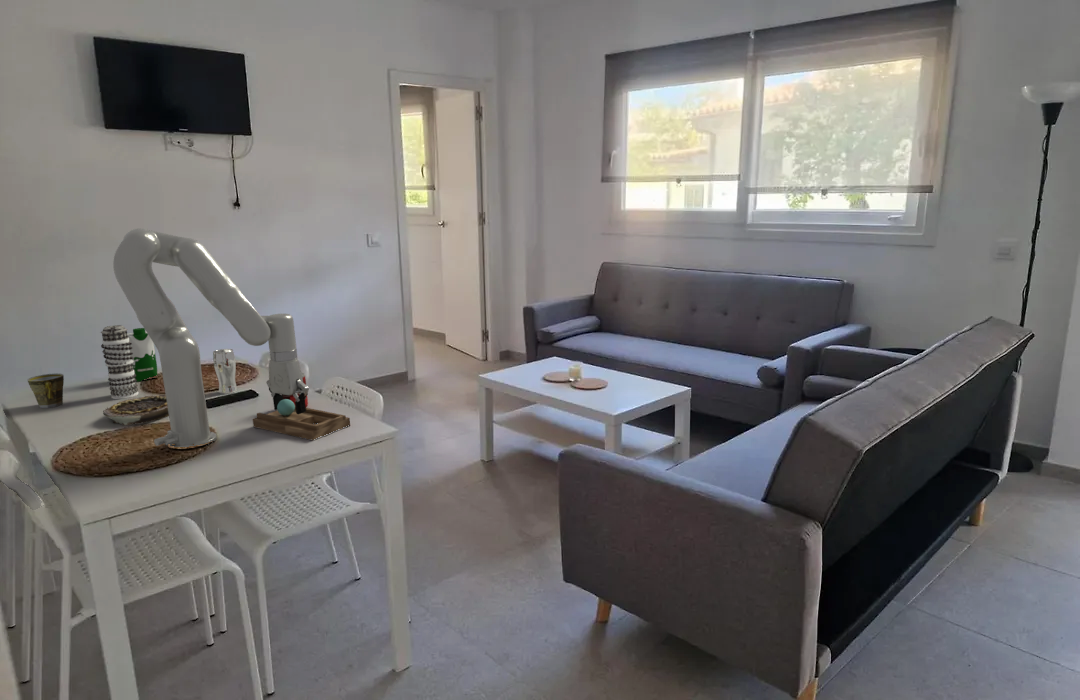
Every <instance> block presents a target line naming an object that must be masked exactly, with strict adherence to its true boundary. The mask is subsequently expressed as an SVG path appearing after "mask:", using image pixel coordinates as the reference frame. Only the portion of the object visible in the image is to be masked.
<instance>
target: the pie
mask: <svg viewBox="0 0 1080 700" xmlns="http://www.w3.org/2000/svg"><path fill="white" fill-rule="evenodd" d="M102 412H103V413H102V414H103V416H104V417H106V418H109V419H111V420H112V421H113V423H114V424H121V425H122V426H131V425H132V426H133V425H138V424H145V423H151V422H153V421H159V420H162V419H164V418H168V417H169V413H168V406H167V400H166V394H158V395H153V394H152V395H145V396H140V397H136V398H134V397H133V398H130V399H129V398H127V399H124V400H121V401H118V402H116V404H115V403H114V404H113V405H111V406H110V407H108V406H107V407H106V408H105V409H103V411H102Z"/></svg>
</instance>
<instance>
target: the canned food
mask: <svg viewBox="0 0 1080 700" xmlns="http://www.w3.org/2000/svg"><path fill="white" fill-rule="evenodd" d="M301 373H302V379H303V383H304V384H306V385H307V379H306V374H305V372H301ZM281 395H283V394H281ZM297 395H298V396H299V395H300V394H299V393H298V394H297ZM284 399H289V400H291V401H292V402H293V403H294V405H295V401H296V399H295V397H294V396H293V394H292V395H283V400H284ZM308 400H309V399H308V396H307V397H306V399H305V405H306V408H308V405H309V401H308Z"/></svg>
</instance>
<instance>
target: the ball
mask: <svg viewBox="0 0 1080 700" xmlns="http://www.w3.org/2000/svg"><path fill="white" fill-rule="evenodd" d="M294 409H295V405H294V403H293V402H292V401H291V400H289V399H284V400H281V401H280V402H279V403H278V405H277V410H276V411H278V412H279V413H280V414H281V415H284V416H288V415H290V414H292V413H293V411H294Z"/></svg>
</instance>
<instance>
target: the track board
mask: <svg viewBox="0 0 1080 700" xmlns="http://www.w3.org/2000/svg"><path fill="white" fill-rule="evenodd" d="M313 423H318V424H313ZM348 425H350V426H351V418H350V417H347V416H346V415H344V414H339V413H335V412H329V411H325V410H320V409H314V408H311V407H306V412H304V413H301V414H296V407H295V409H294V411H293V413H292V414H290V415H288V416H284V415H281V414H280V413H279V412H278V410H275V411H272V412H268V413H263V412H257V413H256V417H254V418H252V426H253V427H254V428H257V429H262V430H266V431H271V432H274V433H275V432H276V433H280V434H283V435H288V436H292V437H296V438H300V437H301V439H304V438H306V439H305V440H309V439H312V440H311V441H313V440H314V439H316V438H318V437H320V436H324V435H326V434H329V433H331V432H333V431H336V430H338V429H341V428H343V427H346V426H348ZM346 428H347V427H346ZM341 430H342V429H341ZM336 432H337V431H336ZM331 434H332V433H331ZM329 435H330V434H329ZM326 436H327V435H326ZM324 437H325V436H324ZM316 440H317V439H316ZM314 441H315V440H314Z"/></svg>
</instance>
